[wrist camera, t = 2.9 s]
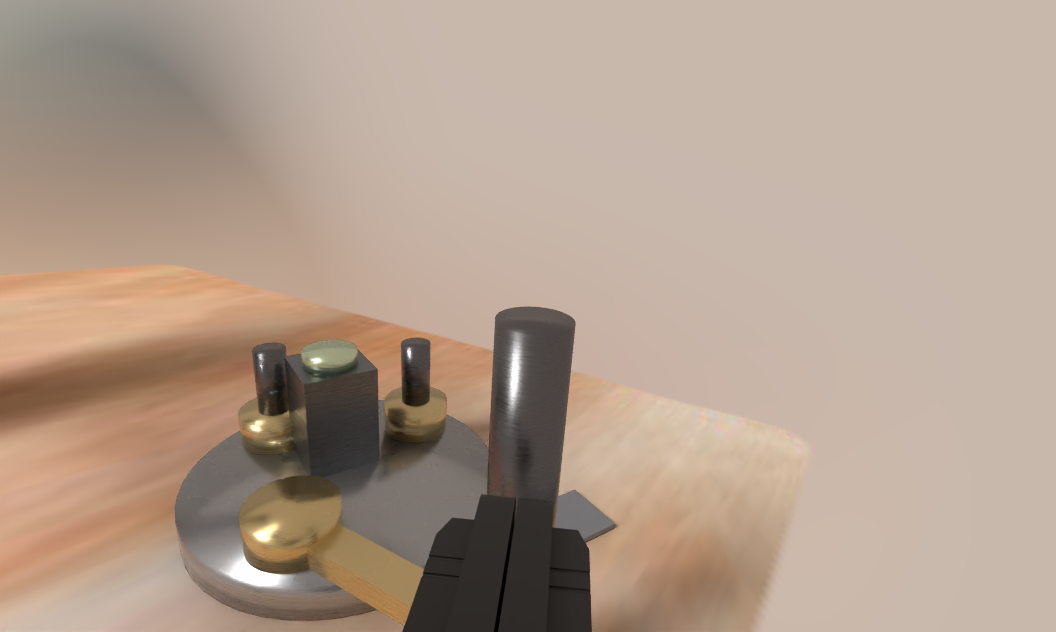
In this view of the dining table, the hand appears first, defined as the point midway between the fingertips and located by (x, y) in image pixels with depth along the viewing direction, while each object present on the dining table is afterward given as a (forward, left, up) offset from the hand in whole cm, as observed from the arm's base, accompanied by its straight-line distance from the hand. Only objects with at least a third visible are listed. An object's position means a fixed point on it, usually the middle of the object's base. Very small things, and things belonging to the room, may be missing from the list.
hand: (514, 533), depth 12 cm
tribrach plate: (-20, +3, -14) cm, 25 cm away
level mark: (-12, +13, -14) cm, 23 cm away
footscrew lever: (-11, +1, -12) cm, 16 cm away
